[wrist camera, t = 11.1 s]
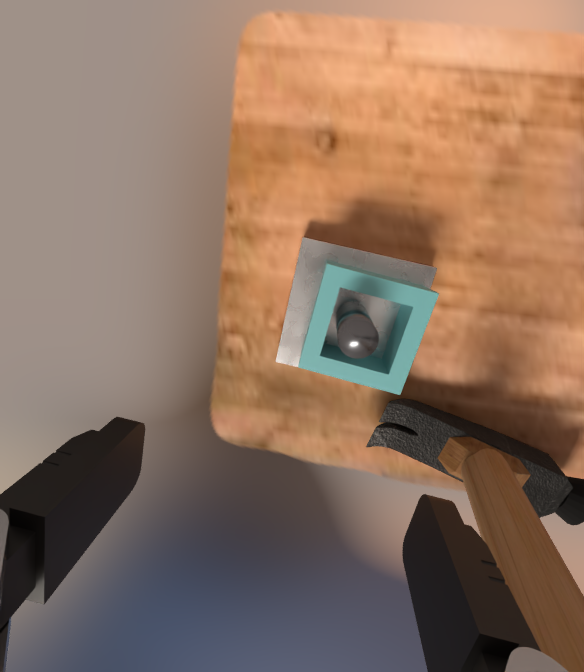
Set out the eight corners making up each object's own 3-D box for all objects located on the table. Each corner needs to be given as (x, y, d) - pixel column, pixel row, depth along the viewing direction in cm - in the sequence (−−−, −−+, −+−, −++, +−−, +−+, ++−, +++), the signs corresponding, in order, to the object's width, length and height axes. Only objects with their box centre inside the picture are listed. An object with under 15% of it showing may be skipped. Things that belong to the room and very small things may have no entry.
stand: (432, 266, 32) (467, 277, 24) (393, 384, 36) (412, 428, 28) (303, 236, 33) (296, 238, 25) (277, 356, 36) (263, 392, 28)
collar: (425, 286, 31) (438, 293, 28) (391, 376, 34) (400, 395, 30) (326, 259, 32) (326, 263, 28) (301, 352, 34) (297, 367, 30)
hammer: (369, 420, 40) (316, 824, 11) (388, 381, 38) (382, 736, 10) (553, 507, 36) (1116, 1374, 8) (581, 468, 35) (1392, 1364, 7)
